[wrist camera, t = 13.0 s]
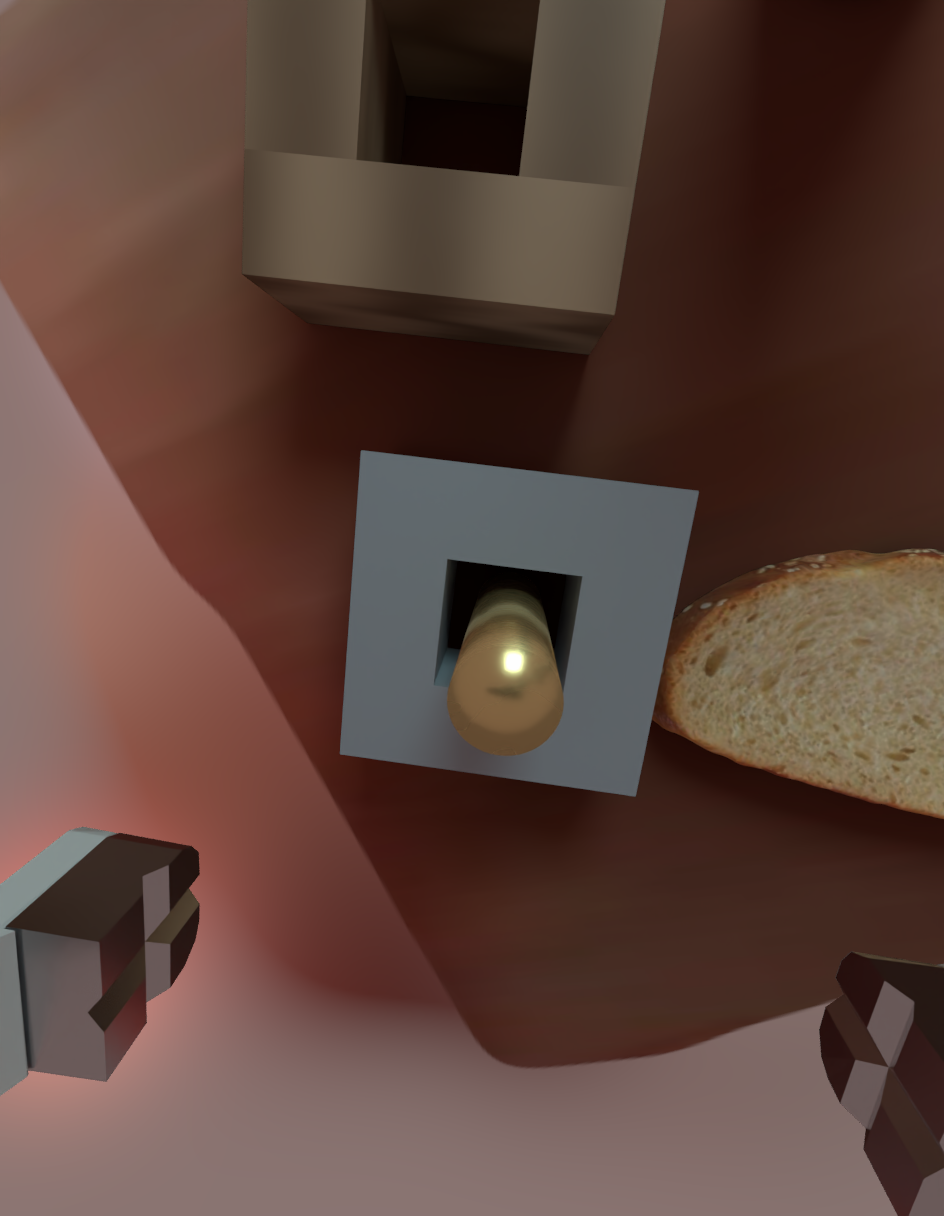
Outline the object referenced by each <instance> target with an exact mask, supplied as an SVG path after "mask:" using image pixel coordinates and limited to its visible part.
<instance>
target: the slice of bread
mask: <svg viewBox="0 0 944 1216" xmlns="http://www.w3.org/2000/svg"><path fill="white" fill-rule="evenodd" d="M652 720H653V721H654V722H656V723H657V724H659V725H660V726H661V727H662V728H664V729H666V730H668V731H670V732H674V733H676V734H678V735H681V736H683V737H685V738H686V739H688V740H690V741H692V742H694V743H695V744H697V745H699V746H700V747H702V748H704V749H706V750H708V751H710V752H713V753H715V754H718V755H722V756H724V757H727V758H729V759H731V760H732V761H734V762H736V763H738V764H741V765H743V766H749V767H754V768H759V769H763V770H765V771H768V772H770V773H772V774H774V775H777V776H780V777H784V778H788V779H793V780H797V781H801V782H804V783H807V784H810V785H812V786H816V787H820V788H824V789H828V790H831V791H834V792H837V793H841V794H844V795H847V796H851V797H854V798H858V799H861V800H864V801H867V802H870V803H875V804H884V805H887V806H890V807H893V808H896V809H900V810H904V811H909V812H914V813H918V814H923V815H929V816H932V817H936V818H941V819H944V552H942V551H938V550H934V549H906V550H900V551H895V552H890V553H883V554H875V553H868V552H864V551H859V550H844V551H838V552H833V553H826V554H814V555H808V556H805V557H801V558H797V559H793V560H789V561H785V562H781V563H778V564H773V565H768V566H765V567H761V568H758V569H756V570H753V571H750V572H748V573H745V574H743V575H741V576H739V577H737V578H735V579H733V580H731V581H729V582H727V583H725V584H723V585H721V586H719V587H717V588H715V589H714V590H712V591H711V592H709V593H707V594H706V595H704V596H702V597H701V598H699V599H698V600H696V601H694V602H693V603H691V604H690V605H689V606H687V607H686V608H685V609H684V610H683V611H682V612H681V613H680V614H679V615H678V616H677V617H676V618H674V619H673V620H672V624H671V629H670V633H669V638H668V643H667V648H666V653H665V657H664V662H663V667H662V672H661V677H660V682H659V686H658V691H657V696H656V701H655V706H654V710H653V715H652Z"/></svg>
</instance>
